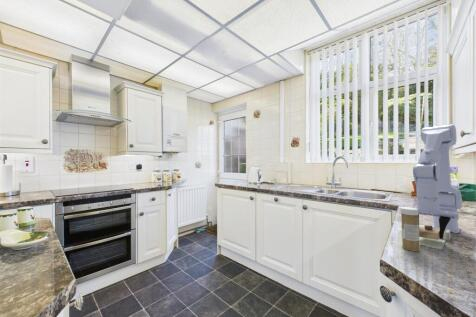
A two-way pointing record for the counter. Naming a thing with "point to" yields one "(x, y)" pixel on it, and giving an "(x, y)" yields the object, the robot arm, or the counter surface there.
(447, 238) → the butter dish
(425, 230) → the lid
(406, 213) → the sprinkles bottle
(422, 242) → the mat
